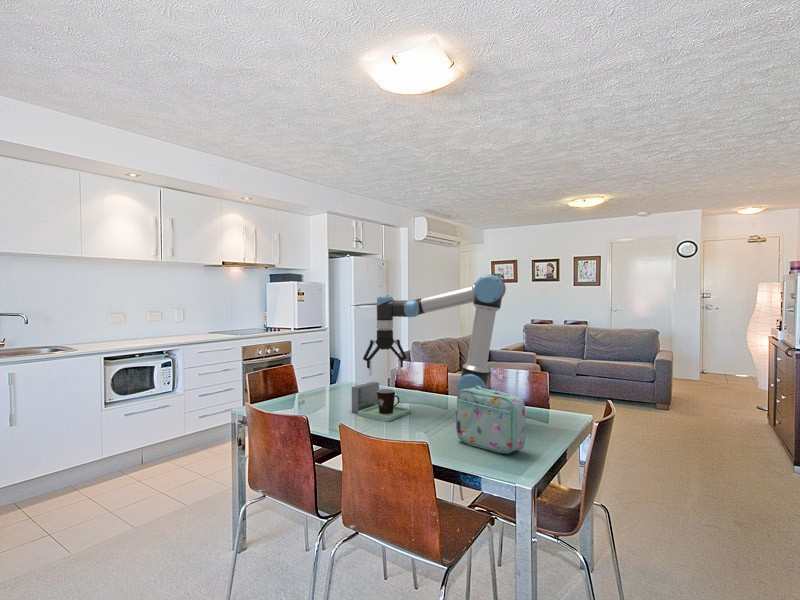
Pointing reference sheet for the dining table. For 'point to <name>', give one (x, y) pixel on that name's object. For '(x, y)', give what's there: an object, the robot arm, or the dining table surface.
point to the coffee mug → (386, 400)
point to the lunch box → (490, 419)
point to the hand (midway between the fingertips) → (385, 375)
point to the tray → (374, 414)
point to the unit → (364, 396)
